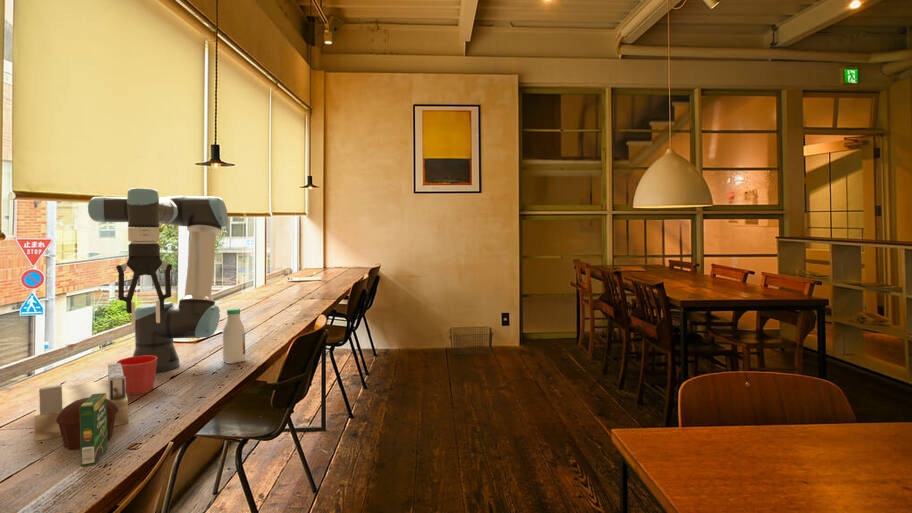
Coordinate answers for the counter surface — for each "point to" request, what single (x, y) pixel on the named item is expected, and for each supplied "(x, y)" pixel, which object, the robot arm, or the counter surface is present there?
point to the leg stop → (50, 399)
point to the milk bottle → (233, 337)
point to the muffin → (71, 422)
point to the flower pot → (139, 373)
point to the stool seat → (47, 422)
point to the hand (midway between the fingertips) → (145, 323)
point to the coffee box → (93, 429)
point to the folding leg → (116, 381)
